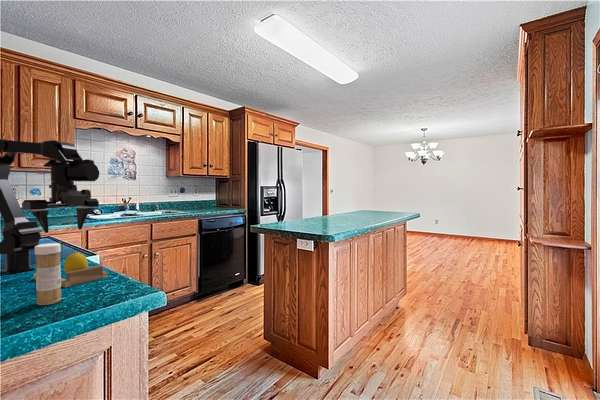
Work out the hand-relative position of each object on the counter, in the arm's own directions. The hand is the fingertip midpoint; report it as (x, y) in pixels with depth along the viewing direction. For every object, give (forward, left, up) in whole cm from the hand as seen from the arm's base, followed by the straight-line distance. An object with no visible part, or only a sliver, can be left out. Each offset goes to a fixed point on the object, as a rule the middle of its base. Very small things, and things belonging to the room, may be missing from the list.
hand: (64, 231), depth 95 cm
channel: (+9, -3, -13) cm, 16 cm away
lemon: (+12, -3, -13) cm, 18 cm away
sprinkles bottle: (+27, -16, -13) cm, 34 cm away
